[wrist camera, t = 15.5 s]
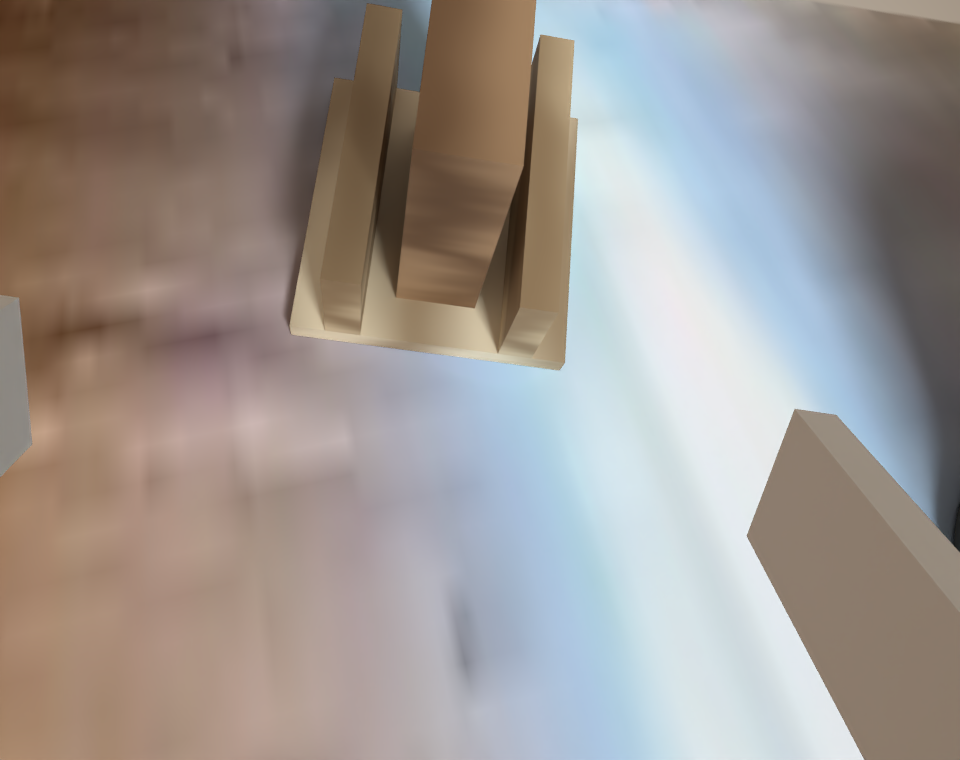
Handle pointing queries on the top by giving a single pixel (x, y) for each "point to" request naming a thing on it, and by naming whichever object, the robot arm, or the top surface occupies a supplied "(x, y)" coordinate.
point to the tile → (465, 146)
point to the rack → (381, 213)
